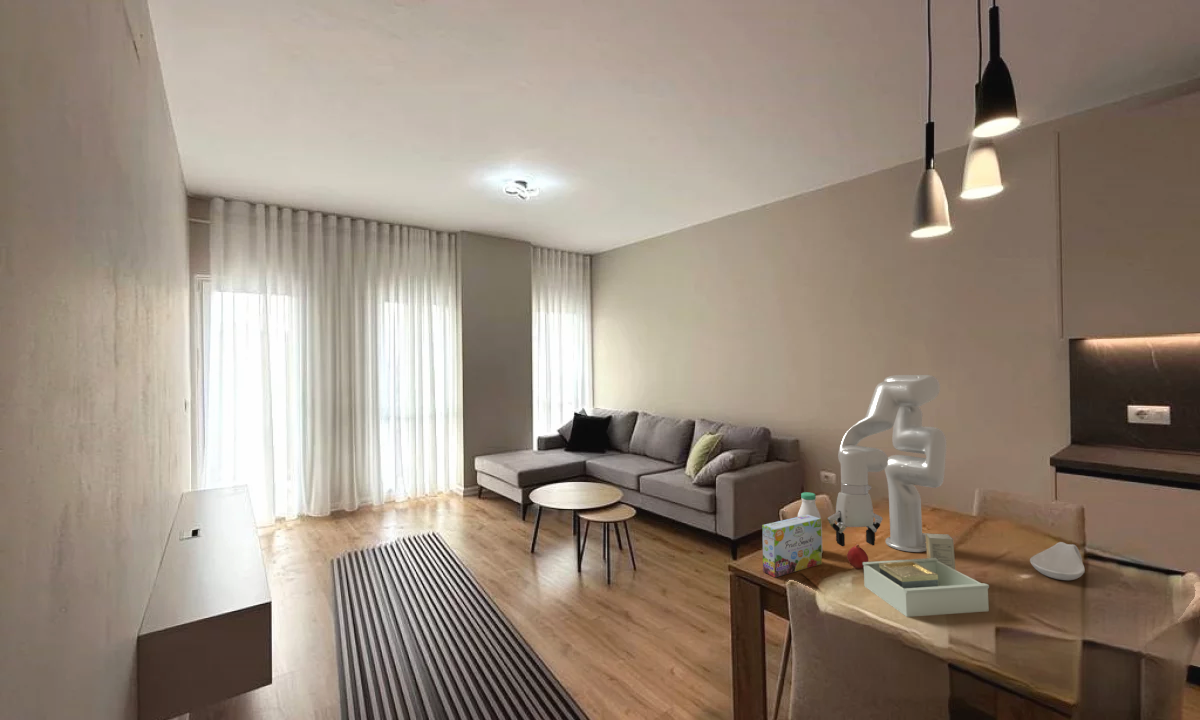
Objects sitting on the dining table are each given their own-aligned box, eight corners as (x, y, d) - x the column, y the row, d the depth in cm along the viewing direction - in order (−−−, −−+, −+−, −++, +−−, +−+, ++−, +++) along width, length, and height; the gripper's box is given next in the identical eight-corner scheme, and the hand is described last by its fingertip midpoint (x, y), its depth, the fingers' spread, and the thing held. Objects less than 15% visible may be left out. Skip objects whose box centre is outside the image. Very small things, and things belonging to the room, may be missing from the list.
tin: (914, 590, 134) (913, 560, 134) (939, 605, 125) (938, 574, 125) (880, 592, 133) (879, 562, 133) (903, 608, 124) (901, 576, 124)
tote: (936, 583, 139) (934, 557, 139) (990, 614, 121) (988, 585, 122) (863, 588, 138) (862, 562, 138) (907, 620, 120) (906, 590, 120)
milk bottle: (818, 547, 169) (815, 490, 169) (826, 556, 161) (823, 496, 162) (795, 547, 170) (793, 490, 170) (802, 555, 162) (800, 496, 162)
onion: (843, 566, 153) (842, 541, 153) (860, 565, 153) (859, 540, 153) (855, 574, 147) (853, 548, 147) (872, 573, 147) (871, 546, 148)
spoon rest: (1080, 589, 134) (1079, 563, 134) (1025, 575, 143) (1024, 551, 143) (1097, 567, 148) (1096, 543, 148) (1046, 555, 157) (1045, 533, 157)
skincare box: (951, 574, 145) (949, 534, 145) (956, 581, 140) (954, 539, 141) (926, 572, 147) (924, 532, 147) (931, 578, 143) (929, 537, 143)
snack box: (776, 579, 145) (774, 529, 146) (762, 572, 150) (760, 524, 151) (823, 564, 155) (821, 517, 155) (808, 558, 160) (807, 513, 160)
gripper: (873, 486, 155) (874, 539, 154) (821, 487, 153) (822, 541, 153) (888, 491, 147) (890, 547, 147) (834, 492, 146) (835, 549, 145)
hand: (855, 544), depth 150 cm, fingers open, 9 cm apart
